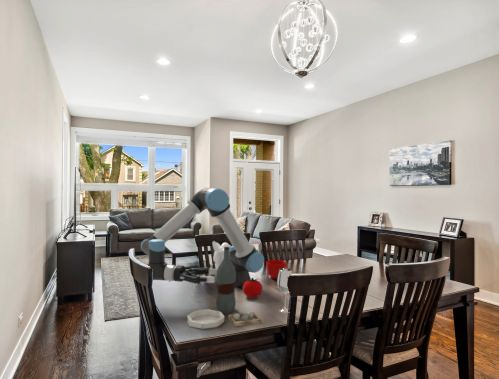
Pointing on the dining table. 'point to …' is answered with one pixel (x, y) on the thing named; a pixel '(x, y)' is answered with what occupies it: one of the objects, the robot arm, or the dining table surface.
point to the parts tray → (247, 322)
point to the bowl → (205, 319)
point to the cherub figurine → (218, 253)
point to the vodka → (226, 284)
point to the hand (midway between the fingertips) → (218, 275)
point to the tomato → (252, 288)
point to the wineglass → (283, 285)
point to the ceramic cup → (275, 267)
